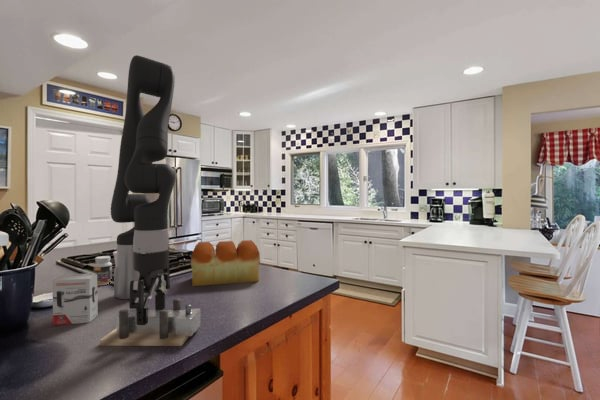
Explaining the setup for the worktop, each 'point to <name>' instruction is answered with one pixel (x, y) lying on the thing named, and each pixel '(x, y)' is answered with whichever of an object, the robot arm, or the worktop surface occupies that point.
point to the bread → (225, 263)
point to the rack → (144, 339)
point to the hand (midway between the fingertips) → (151, 316)
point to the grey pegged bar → (177, 322)
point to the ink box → (75, 298)
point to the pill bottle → (103, 270)
